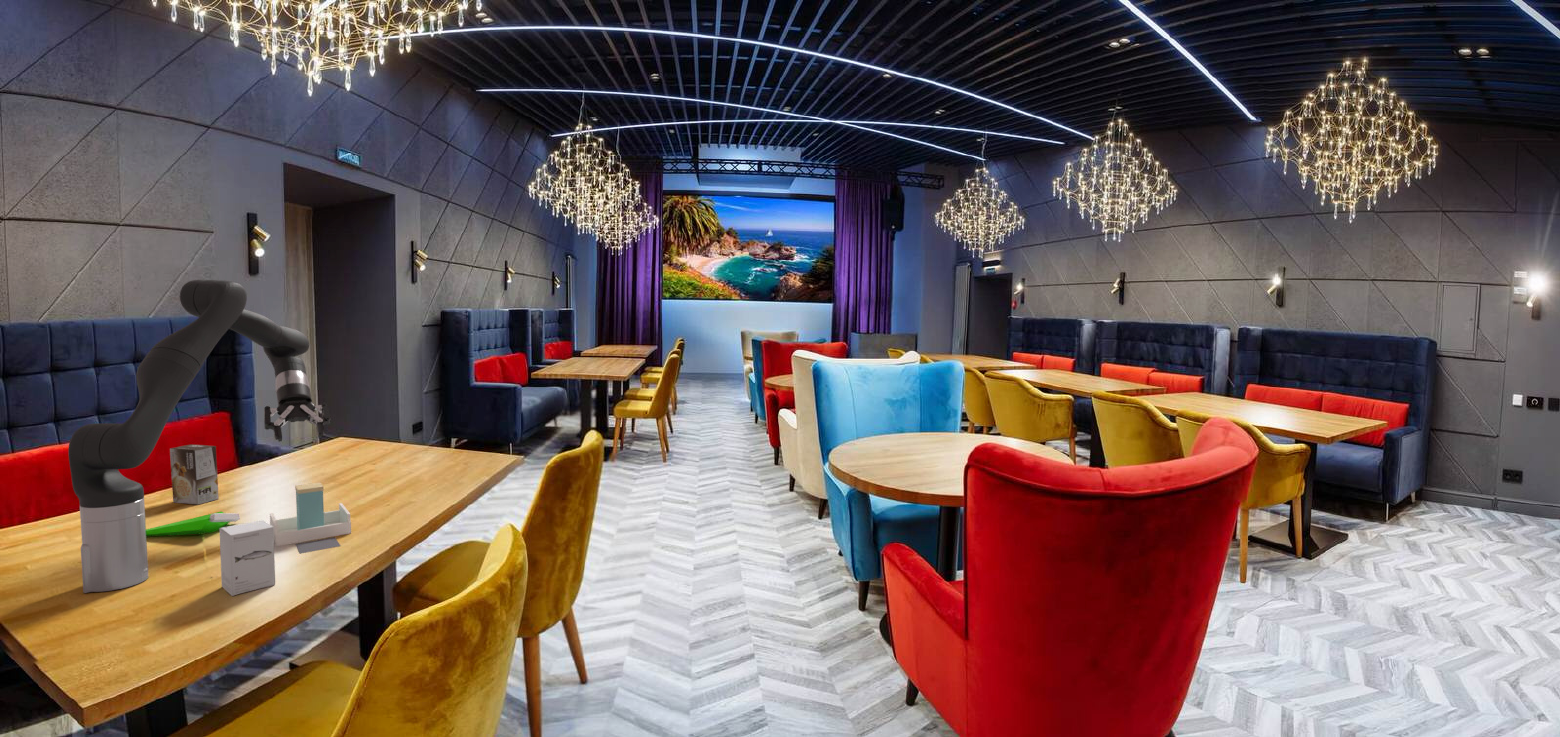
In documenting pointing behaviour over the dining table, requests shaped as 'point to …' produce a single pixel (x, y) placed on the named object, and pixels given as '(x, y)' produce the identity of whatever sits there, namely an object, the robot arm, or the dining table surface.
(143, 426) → the robot arm
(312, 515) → the tea tin
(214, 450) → the coffee box
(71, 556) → the dining table surface
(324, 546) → the coaster
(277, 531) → the tote
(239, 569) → the supplement box
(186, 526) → the green and white wedge
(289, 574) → the dining table surface
